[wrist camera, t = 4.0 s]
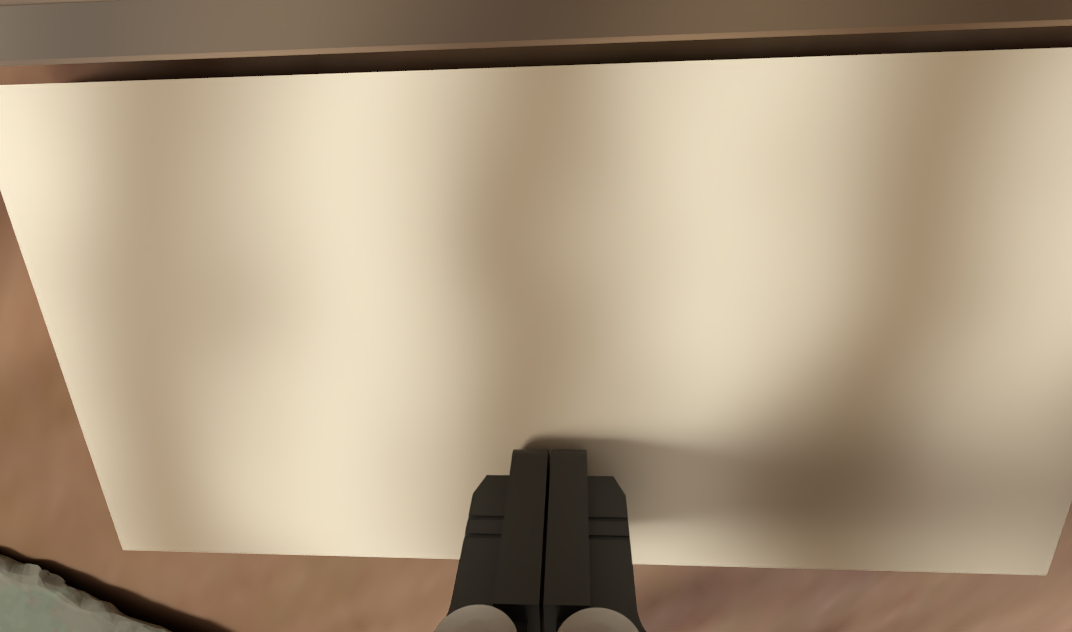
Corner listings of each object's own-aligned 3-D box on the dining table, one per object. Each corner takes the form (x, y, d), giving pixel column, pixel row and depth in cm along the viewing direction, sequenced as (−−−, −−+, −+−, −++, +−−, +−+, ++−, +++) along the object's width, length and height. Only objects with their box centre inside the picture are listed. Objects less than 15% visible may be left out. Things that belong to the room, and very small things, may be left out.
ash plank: (1118, 46, 11) (1226, 41, 9) (987, 511, 15) (1046, 575, 13) (56, 84, 13) (-35, 86, 11) (175, 495, 16) (122, 550, 14)
